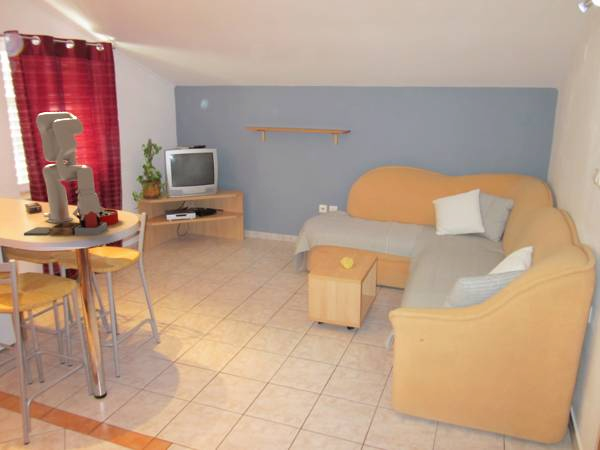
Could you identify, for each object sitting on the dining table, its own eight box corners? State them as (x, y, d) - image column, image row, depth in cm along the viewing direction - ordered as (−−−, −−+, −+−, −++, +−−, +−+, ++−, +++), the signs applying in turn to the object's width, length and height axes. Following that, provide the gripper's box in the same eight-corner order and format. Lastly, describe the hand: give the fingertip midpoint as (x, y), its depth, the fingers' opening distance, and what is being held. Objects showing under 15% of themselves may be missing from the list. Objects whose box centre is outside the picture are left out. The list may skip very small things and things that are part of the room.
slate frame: (75, 235, 257) (74, 228, 256) (85, 229, 268) (84, 222, 267) (97, 235, 256) (97, 228, 255) (107, 229, 267) (106, 222, 266)
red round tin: (100, 207, 293) (125, 211, 283) (101, 217, 294) (126, 221, 285) (70, 214, 276) (95, 218, 267) (71, 225, 278) (96, 229, 268)
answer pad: (24, 235, 258) (23, 233, 257) (37, 229, 269) (36, 227, 269) (47, 235, 257) (47, 233, 257) (59, 229, 269) (59, 227, 268)
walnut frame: (49, 234, 257) (48, 228, 256) (61, 229, 268) (60, 222, 268) (72, 235, 257) (71, 228, 256) (82, 229, 268) (82, 222, 267)
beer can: (86, 230, 265) (84, 207, 262) (99, 230, 266) (97, 207, 263) (82, 233, 259) (79, 210, 256) (96, 233, 259) (93, 210, 256)
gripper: (71, 195, 249) (76, 230, 253) (106, 190, 260) (110, 224, 264) (66, 192, 254) (70, 227, 258) (101, 188, 265) (104, 221, 270)
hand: (90, 225), depth 261 cm, fingers closed on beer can, 6 cm apart
